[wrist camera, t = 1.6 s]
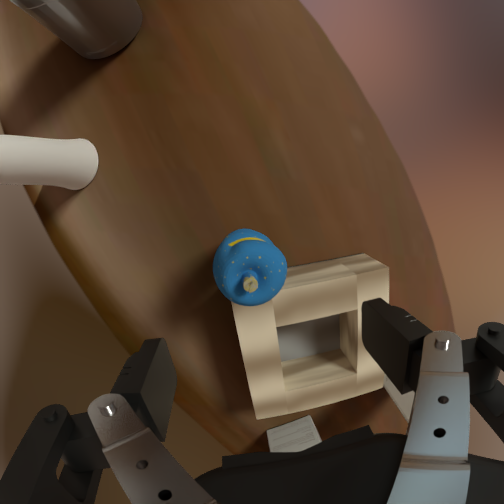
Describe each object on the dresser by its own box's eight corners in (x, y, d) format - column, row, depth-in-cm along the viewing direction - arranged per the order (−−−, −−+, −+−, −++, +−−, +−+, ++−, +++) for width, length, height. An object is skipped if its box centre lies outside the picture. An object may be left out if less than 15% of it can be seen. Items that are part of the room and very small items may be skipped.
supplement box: (280, 452, 41) (292, 511, 28) (265, 429, 39) (276, 494, 27) (321, 438, 41) (342, 495, 28) (311, 413, 39) (334, 475, 27)
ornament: (269, 221, 32) (305, 253, 17) (259, 266, 33) (284, 330, 18) (222, 211, 31) (218, 236, 17) (213, 258, 32) (203, 317, 18)
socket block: (229, 277, 33) (230, 298, 27) (363, 253, 34) (388, 267, 28) (252, 387, 37) (256, 419, 31) (364, 361, 37) (382, 387, 31)
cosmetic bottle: (107, 171, 29) (-46, 167, 8) (69, 199, 29) (-81, 232, 8) (87, 128, 28) (-57, 86, 6) (50, 158, 28) (-95, 154, 7)
